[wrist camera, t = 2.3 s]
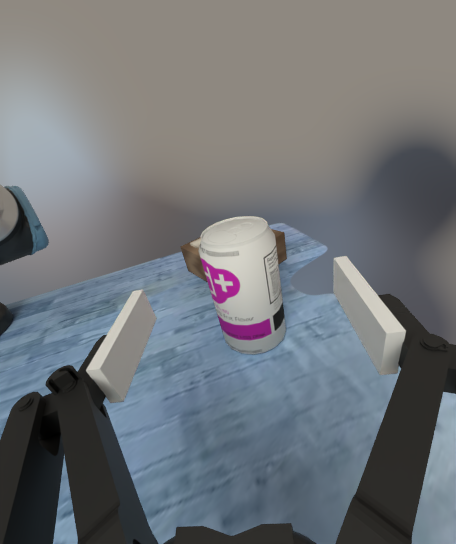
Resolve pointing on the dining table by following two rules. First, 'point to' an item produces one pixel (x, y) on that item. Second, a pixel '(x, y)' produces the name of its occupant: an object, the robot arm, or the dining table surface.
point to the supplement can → (244, 282)
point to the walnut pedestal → (196, 264)
